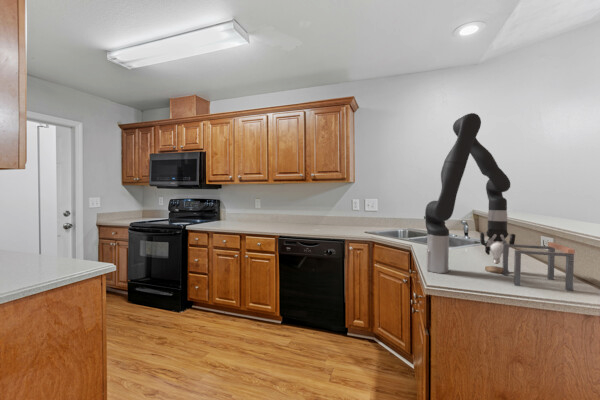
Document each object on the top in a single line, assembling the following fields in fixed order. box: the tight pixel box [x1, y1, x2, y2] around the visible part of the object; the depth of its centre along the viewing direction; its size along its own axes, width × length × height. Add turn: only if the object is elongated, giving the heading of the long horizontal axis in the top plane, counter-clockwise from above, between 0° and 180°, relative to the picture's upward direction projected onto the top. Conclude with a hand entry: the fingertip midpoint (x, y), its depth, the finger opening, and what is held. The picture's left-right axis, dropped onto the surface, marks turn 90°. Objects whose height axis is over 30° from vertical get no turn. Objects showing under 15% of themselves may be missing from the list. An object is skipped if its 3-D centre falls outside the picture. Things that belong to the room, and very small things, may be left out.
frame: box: [501, 243, 575, 292], centre depth 116 cm, size 18×16×14 cm
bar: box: [547, 241, 576, 255], centre depth 113 cm, size 2×16×2 cm, turn 159°
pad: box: [484, 265, 503, 275], centre depth 132 cm, size 9×9×1 cm
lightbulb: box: [489, 241, 503, 265], centre depth 132 cm, size 6×6×11 cm
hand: (496, 254), depth 132 cm, fingers closed on lightbulb, 6 cm apart
